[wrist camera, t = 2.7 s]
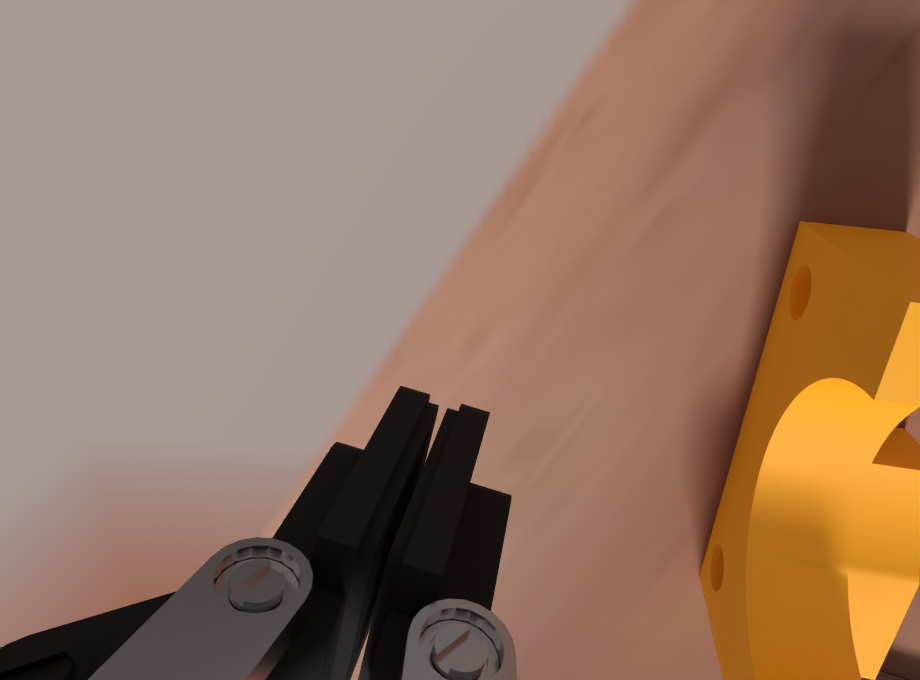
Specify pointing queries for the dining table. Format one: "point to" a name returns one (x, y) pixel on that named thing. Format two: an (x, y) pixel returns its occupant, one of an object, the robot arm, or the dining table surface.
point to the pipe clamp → (824, 469)
